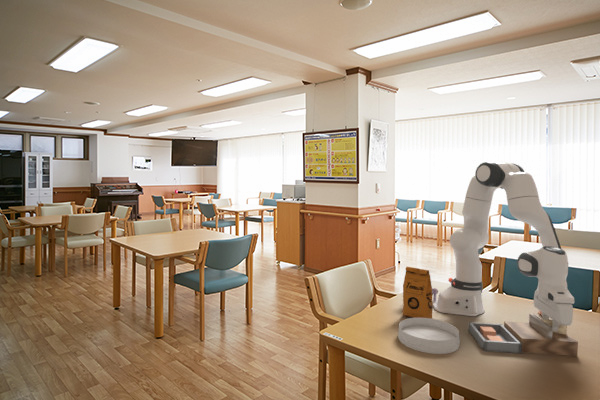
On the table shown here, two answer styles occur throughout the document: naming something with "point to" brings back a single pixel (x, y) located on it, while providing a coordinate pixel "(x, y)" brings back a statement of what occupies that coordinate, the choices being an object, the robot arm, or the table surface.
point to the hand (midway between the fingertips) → (550, 328)
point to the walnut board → (541, 340)
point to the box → (506, 345)
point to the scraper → (545, 326)
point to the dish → (429, 335)
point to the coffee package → (417, 293)
